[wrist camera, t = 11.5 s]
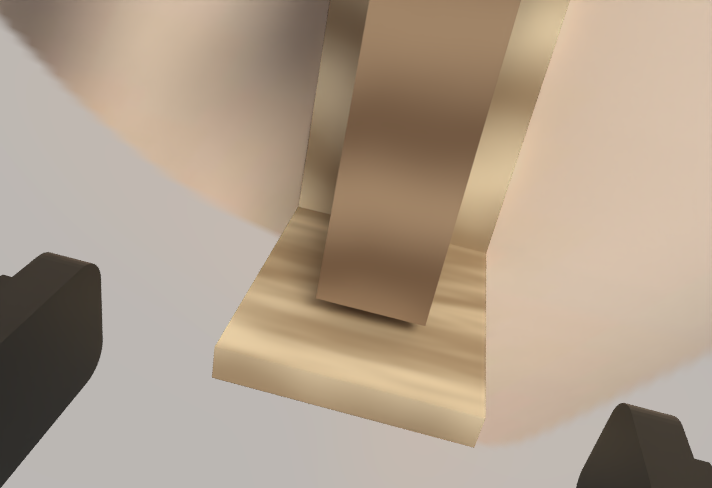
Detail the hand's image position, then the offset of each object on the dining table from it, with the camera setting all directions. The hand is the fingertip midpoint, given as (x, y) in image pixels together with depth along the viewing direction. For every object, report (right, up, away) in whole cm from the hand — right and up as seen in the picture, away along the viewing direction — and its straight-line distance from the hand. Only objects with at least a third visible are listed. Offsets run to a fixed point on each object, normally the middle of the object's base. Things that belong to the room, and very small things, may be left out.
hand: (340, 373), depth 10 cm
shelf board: (+3, +9, +16) cm, 18 cm away
